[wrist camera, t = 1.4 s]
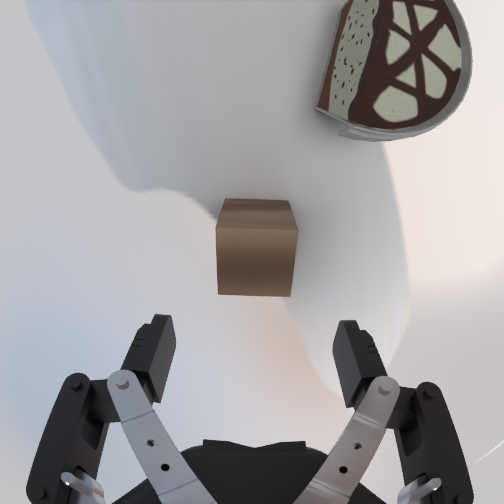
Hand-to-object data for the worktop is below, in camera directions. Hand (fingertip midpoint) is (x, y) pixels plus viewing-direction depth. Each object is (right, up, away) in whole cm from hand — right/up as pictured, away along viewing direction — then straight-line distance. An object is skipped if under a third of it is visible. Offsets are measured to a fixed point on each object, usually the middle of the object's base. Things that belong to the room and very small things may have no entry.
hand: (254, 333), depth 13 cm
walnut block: (0, +6, +11) cm, 12 cm away
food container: (+9, +18, +4) cm, 20 cm away
